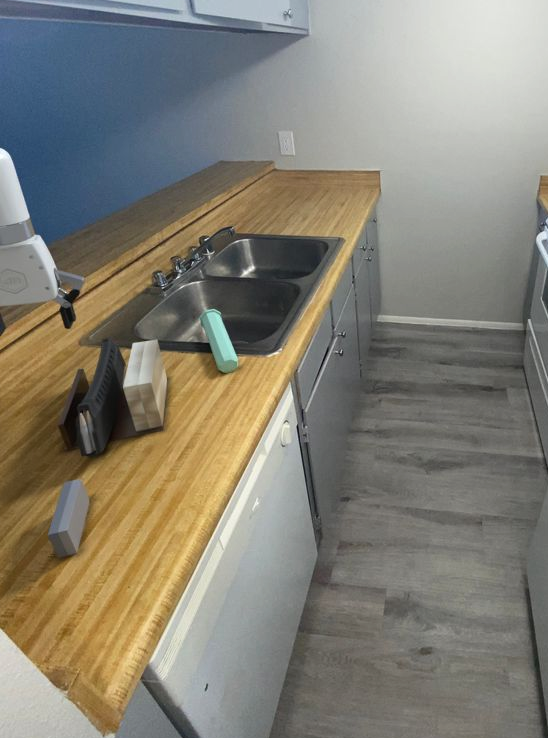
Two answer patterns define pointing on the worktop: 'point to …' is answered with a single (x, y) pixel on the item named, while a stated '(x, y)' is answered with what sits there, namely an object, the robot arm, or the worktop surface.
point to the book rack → (126, 397)
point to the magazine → (101, 401)
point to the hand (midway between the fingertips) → (36, 329)
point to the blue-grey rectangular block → (69, 518)
